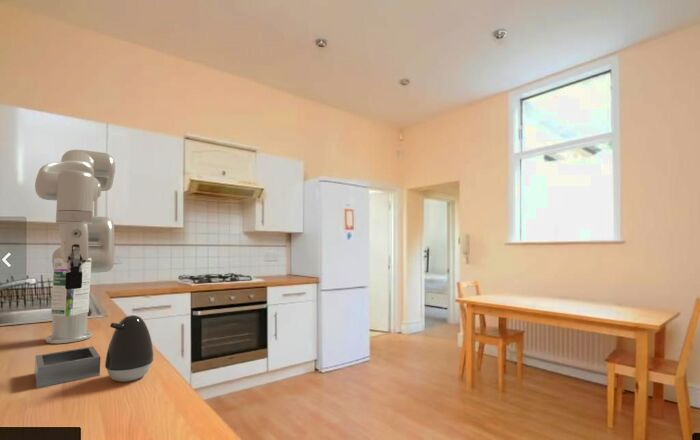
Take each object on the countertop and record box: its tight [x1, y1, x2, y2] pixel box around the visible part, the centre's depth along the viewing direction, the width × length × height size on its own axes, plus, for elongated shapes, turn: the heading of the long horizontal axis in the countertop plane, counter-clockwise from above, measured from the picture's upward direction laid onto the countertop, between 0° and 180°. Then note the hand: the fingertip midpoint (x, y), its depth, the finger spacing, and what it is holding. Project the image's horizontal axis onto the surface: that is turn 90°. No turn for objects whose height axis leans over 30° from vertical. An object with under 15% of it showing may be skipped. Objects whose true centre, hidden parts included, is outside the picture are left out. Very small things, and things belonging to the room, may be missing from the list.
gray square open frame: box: [34, 346, 101, 389], centre depth 91 cm, size 12×12×4 cm
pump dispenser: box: [104, 315, 154, 383], centre depth 90 cm, size 10×10×15 cm
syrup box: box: [50, 257, 92, 317], centre depth 93 cm, size 6×6×14 cm
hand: (71, 286), depth 93 cm, fingers closed on syrup box, 8 cm apart
